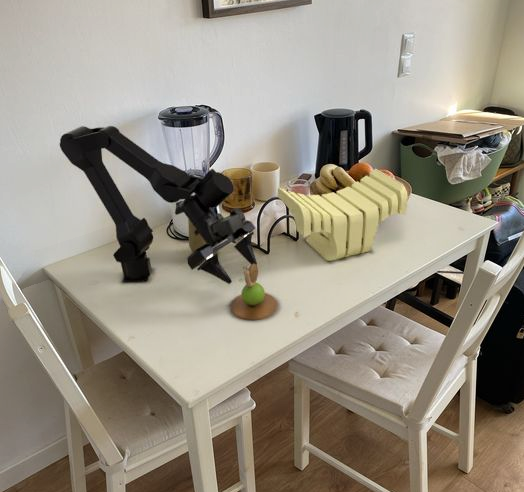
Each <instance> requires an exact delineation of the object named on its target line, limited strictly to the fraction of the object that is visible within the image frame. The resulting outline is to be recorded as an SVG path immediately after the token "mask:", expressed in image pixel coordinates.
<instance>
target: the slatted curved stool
mask: <svg viewBox="0 0 524 492" xmlns="http://www.w3.org/2000/svg"><path fill="white" fill-rule="evenodd" d="M277 197H278V199H279V200H280V201H281V202H283V203H284V205H286V207H287V209H288V210H289V211H290V213H291V214H292V217H293V219H294V223H295V228H296V232H298V234H299V235H300V236H301V237H303V238H306V237H307V238H306V239H305V241H306V242H307V243H308V244H309V246H311V247H312V248H313V249H314V250H315V251H316V253H318V254H319V255H320V256H321V257H322V258H324V260H326V261H328V262H330V261H335V260H338V259H343V258H346V257H351V256H357V255H359V254H364V253H367V252H372V248H373V242H374V238H375V236H376V233H377V230H378V229H379V222H381V223H382V222H383V221H384V220H386V219H388V217H389V216H391V217H393V216H397V215H398V214H399V215H407V208H408V200H409V199H408V198H409V195H408V192H407V187H405V185H404V183H402V182H400V181H398V180H397V179H395V178H393V177H391V176H390V175H388V174H386V173H384V172H383V171H381V170H379V169H377V168H374V169H373V170H371V171H370V172H369V175H365V176H364V177H362V178H360V180H359V181H355V182H354V183H352V184H351V186H346V187H344V188H342V189H339V190H336V193H335V192H333V191H332V192H328V193H323V194H321V195H320V194H306V195H305V194H303V193H295V192H294V191H291V190H286V189H284V188H281V187H279V186H278V187H277Z"/></svg>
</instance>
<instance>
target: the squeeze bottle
mask: <svg viewBox="0 0 524 492" xmlns="http://www.w3.org/2000/svg"><path fill="white" fill-rule="evenodd" d="M187 219H188V218H187ZM187 221H188V246H189V248H190V251H191V253H193V252H194V251H195V250H196V249H198V248H200V247H201V246H203V245H205V244H206V243H205V241H204V240H203V238H202V237H201V236H200V234H199V235H197V236H196V235H195V233H194V231H195V230H196V229H195V227H194V226H193V224H192V223H191V222H190V220H189V219H188V220H187ZM216 245H217V244H216ZM215 254H217V251H216V252H215V253H213V255H215Z"/></svg>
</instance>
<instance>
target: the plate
mask: <svg viewBox="0 0 524 492" xmlns="http://www.w3.org/2000/svg"><path fill="white" fill-rule="evenodd" d="M277 309H278V302H277V300H276V298H275V297H273V296H272V295H271V294H269V293H266V292H265V296H264V299H263V301H262V302H261V303H260V304H258V305H249V304H247V303H245V302H244V300H243V298H242V294H240V295H238V296H236V297H235V298H233V300H232V301H231V303H230V311H231V313H232V314H233V316H234V317H237V318H239V319H241V320H246V321H260V320H264V319H267V318H269V317H271V316H272V315H273V314H275V312H276V311H277Z"/></svg>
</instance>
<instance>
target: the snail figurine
mask: <svg viewBox="0 0 524 492" xmlns="http://www.w3.org/2000/svg"><path fill="white" fill-rule="evenodd" d="M242 269H243V276H244V282H245V284H244V286H243V288H242V289H241V295H242V298H243V300H244V302H245V303H247V304H249V305H258V304H260V303H261V302H262V301H263V299H264V296H265V293H266V292H265V289H264V287H263V285H261V284H260V283H258V282H257V281H258V276H259V266H258V264H257V265H256V264H250V265H249V266H242Z"/></svg>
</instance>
